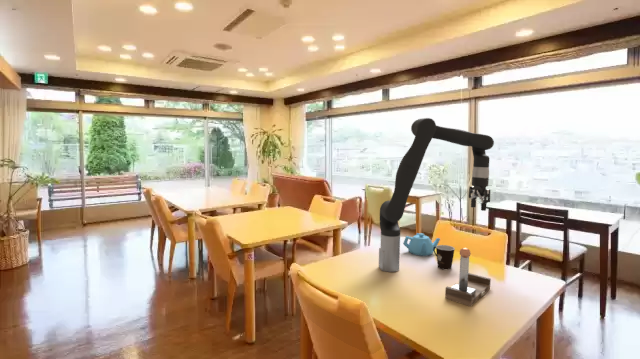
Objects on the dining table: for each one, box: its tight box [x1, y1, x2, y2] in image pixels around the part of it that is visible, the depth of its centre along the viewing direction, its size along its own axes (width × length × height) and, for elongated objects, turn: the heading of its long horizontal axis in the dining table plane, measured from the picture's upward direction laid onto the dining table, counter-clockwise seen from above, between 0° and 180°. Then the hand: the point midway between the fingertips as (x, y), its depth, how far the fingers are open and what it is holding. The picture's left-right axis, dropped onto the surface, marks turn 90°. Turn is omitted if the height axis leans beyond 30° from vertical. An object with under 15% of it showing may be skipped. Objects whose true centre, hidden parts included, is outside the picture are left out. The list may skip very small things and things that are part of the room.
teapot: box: [402, 232, 441, 257], centre depth 198 cm, size 15×15×11 cm
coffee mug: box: [433, 244, 456, 271], centre depth 176 cm, size 12×9×10 cm
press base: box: [444, 272, 492, 307], centre depth 145 cm, size 22×10×4 cm, turn 137°
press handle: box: [450, 247, 476, 296], centre depth 140 cm, size 5×8×18 cm, turn 47°
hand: (478, 208), depth 175 cm, fingers open, 8 cm apart
